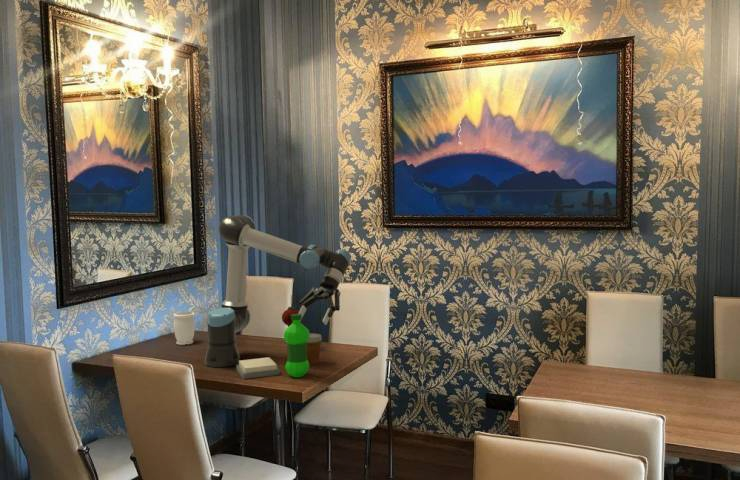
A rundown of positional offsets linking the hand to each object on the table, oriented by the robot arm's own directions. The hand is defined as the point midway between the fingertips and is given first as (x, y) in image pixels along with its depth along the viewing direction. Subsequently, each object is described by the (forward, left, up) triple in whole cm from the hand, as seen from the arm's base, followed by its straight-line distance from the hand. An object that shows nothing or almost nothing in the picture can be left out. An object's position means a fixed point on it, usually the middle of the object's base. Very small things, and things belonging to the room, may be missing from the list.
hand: (310, 321), depth 261 cm
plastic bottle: (+3, -7, -21) cm, 23 cm away
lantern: (-41, +3, -21) cm, 46 cm away
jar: (-75, -43, -21) cm, 89 cm away
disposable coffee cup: (-13, +4, -21) cm, 25 cm away
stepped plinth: (-8, -21, -21) cm, 31 cm away
